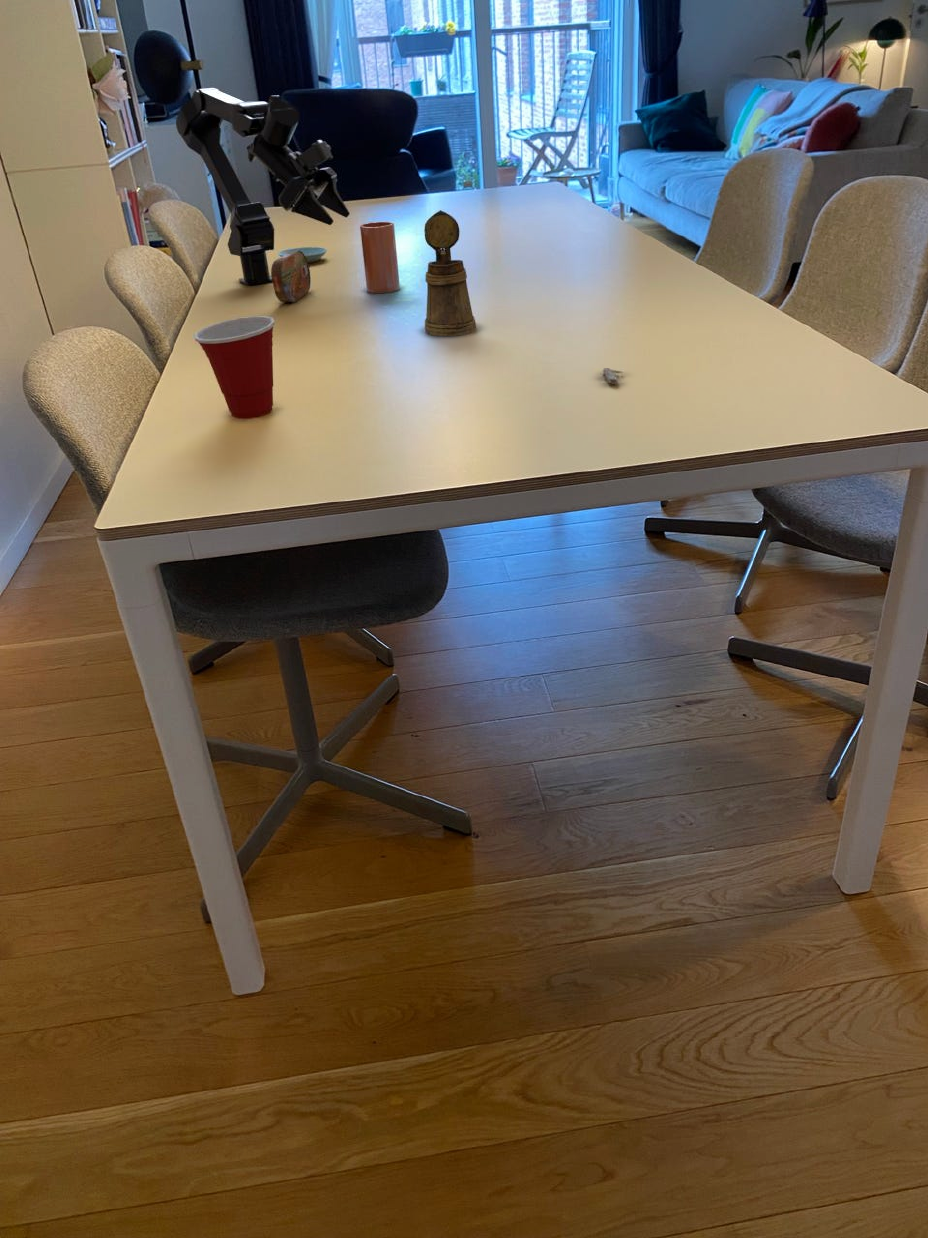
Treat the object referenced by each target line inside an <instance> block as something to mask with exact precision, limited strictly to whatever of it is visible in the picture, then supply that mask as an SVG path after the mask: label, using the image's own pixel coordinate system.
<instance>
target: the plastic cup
mask: <svg viewBox="0 0 928 1238" xmlns="http://www.w3.org/2000/svg"><path fill="white" fill-rule="evenodd" d="M274 326H275V319H274V318H273V317H271V316H267V315H266V316H265V315H263V316H262V315H259V316H258V315H256V316H255V315H253V316H245V317H238V318H234V319H228V320H224V321H220V322H218V323H214V324H210V325H208V326H206V327H204V328H201V329H199V330H198V331H197V332H196V333H194V334H193V338H194V340H195V342H197V343H198V344H199V345H200V346H201V349H202V350H203V352H204V354H205V356H206V359H208V361H209V364H210V366H211V369H212V371H213V374H214V376H215V379H216V382H217V384H218V386H219V389H220V393H221V394H222V395H223V397H224V400H225V403H226V405H227V408H228V411H229V413H230V414H231V417H233V418H235V419H239V420H240V419H241V420H245V419H246V420H249V419H256V418H260V417H264V416H266V415H268V414H270V413H271V412H272V411H273V406H274V389H273V387H274V363H273V362H274V361H273V358H274V357H273V346H274V343H273V338H274V333H273V332H274Z"/></svg>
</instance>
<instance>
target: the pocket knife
mask: <svg viewBox="0 0 928 1238" xmlns="http://www.w3.org/2000/svg"><path fill="white" fill-rule="evenodd" d="M614 373H615V374H623V371H620V370H614V369H611V368H608V367H604V368H603V370H602V377H603V378H605V380H606V381H607V382H608V383H609V384H617V380H618V378H617V375H615V374H614Z"/></svg>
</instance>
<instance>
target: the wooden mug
mask: <svg viewBox="0 0 928 1238" xmlns="http://www.w3.org/2000/svg"><path fill="white" fill-rule="evenodd" d="M423 231H424V240H425V242H426V244H427V245H428V246H429V247H430V248H431V249H433V251H435V261H429V262H428V263H427V271H426V272H425V281H424V282H426V284H427V293H426V314H425V315H426V316H425V319H424V331H425V333H426V334H428V335H431V336H434V337H435V336H436V337H455V336H462V335H467V334H470V333H473V332H474V331H476V330H477V324H476V318H475V316H474V313H473V310H472V305H471V300H470V294H469V290H468V283H467V278H468V275H467V270H466V268H465V266H464V261H463V260H461V259H452V252H451V249H452V248H453V247H454V246H455V245H456V244H457V243H458V241H459V239H460V232H461V231H460V226H459V223H458V222H457V220H456V219H455V218H454V216H452V215H450V214H449V213H447V212H445V211H443V210H441V209H440V210H438V211H436V212H435V213H434V214H433V215H431V216H430V217H429V218H428V219H427V220H426V222H425V224H424V230H423Z"/></svg>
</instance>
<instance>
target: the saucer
mask: <svg viewBox="0 0 928 1238" xmlns="http://www.w3.org/2000/svg"><path fill="white" fill-rule="evenodd" d="M297 251H301V252H303V254H304V255H305V257H306V259H307V262H308V264H311V263H314V262H318V261H319V260H321V258H323V257H324V256H325V254H326V253H327V251H328V249H327V248H325V247H320V246H305V247H304V246H303V247H293V248H288V249H283V250H280V251H278V253H277V255H278V256H279V258H280V257H282V256H284V255H285V254H287V253H289V252H297Z"/></svg>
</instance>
